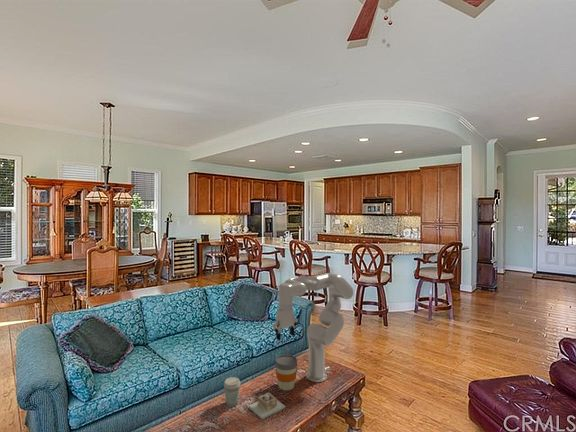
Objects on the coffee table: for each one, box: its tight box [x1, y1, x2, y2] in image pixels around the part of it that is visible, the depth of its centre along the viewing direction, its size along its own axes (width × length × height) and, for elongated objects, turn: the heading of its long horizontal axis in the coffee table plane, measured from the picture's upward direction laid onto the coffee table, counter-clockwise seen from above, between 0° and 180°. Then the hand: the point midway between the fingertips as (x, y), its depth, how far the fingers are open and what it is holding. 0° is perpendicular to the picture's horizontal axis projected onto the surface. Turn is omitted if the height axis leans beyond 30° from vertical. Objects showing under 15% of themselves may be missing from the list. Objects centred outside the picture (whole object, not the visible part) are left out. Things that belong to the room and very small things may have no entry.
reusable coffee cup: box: [274, 354, 298, 391], centre depth 183 cm, size 13×13×15 cm
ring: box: [257, 392, 278, 412], centre depth 163 cm, size 7×7×4 cm
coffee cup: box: [223, 376, 241, 408], centre depth 166 cm, size 8×8×12 cm
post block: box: [248, 395, 286, 420], centre depth 163 cm, size 14×12×6 cm
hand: (285, 337), depth 176 cm, fingers open, 9 cm apart
